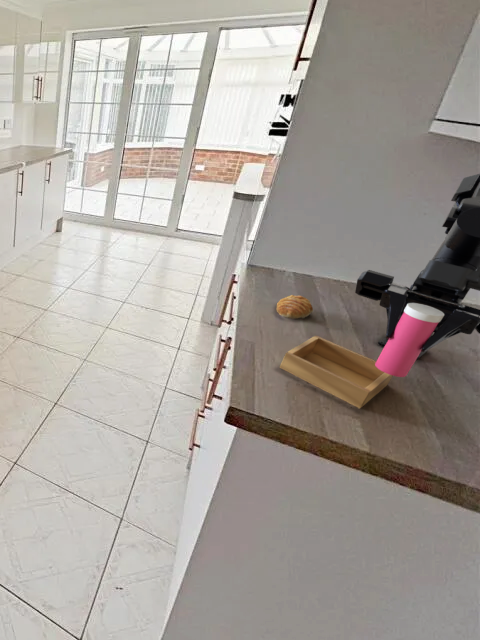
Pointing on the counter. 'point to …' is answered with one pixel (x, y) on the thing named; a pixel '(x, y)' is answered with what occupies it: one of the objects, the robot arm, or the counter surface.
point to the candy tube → (408, 339)
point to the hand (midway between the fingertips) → (404, 344)
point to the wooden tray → (336, 370)
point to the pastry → (294, 307)
